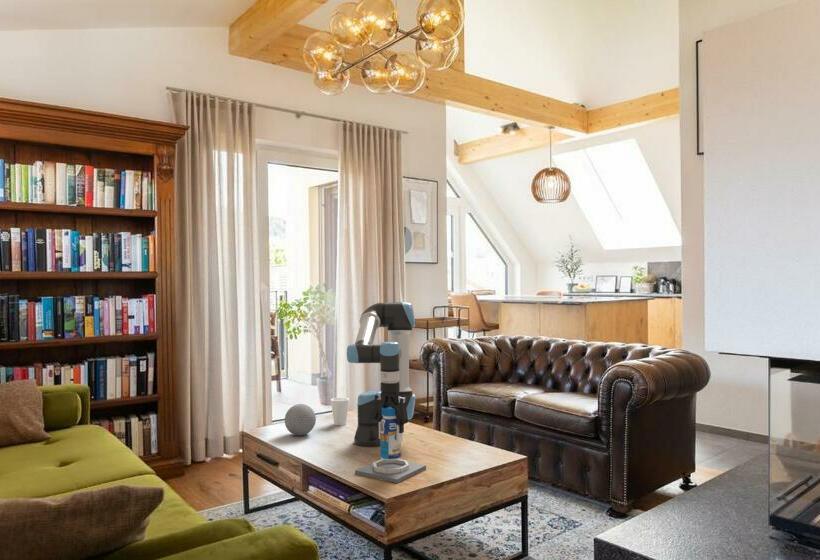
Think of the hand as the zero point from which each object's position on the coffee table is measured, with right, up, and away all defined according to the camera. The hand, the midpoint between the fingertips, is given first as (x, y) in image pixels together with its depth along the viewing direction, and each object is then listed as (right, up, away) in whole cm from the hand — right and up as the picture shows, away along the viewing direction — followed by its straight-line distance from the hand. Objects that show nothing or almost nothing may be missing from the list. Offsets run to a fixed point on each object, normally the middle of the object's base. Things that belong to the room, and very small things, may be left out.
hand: (390, 439), depth 238 cm
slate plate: (0, -13, 0) cm, 13 cm away
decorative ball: (-46, -13, +57) cm, 74 cm away
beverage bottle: (0, -7, 0) cm, 7 cm away
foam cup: (-29, -13, +78) cm, 84 cm away
